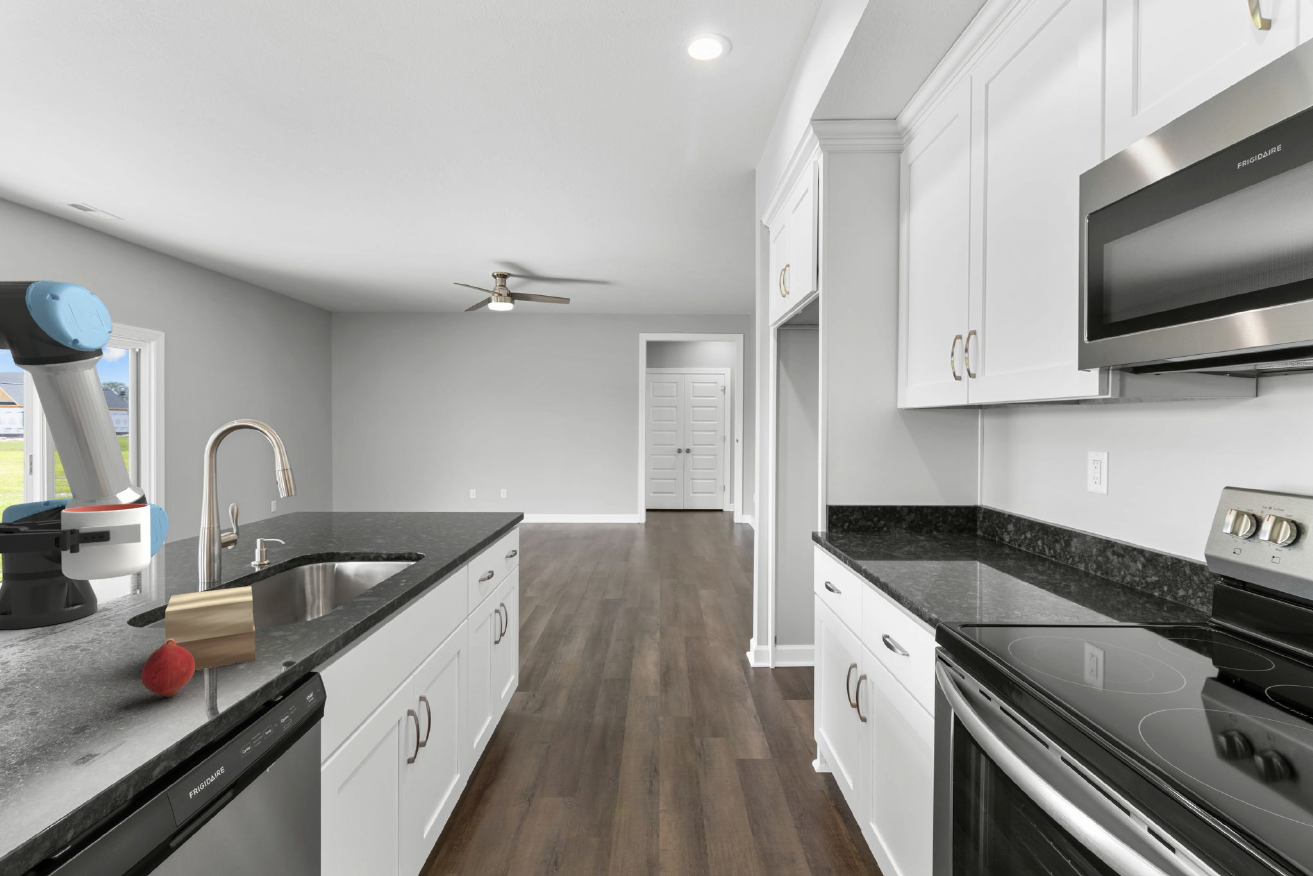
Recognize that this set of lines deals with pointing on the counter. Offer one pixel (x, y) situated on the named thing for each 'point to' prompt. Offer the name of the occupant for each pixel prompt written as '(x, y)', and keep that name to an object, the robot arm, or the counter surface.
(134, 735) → the counter surface
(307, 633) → the counter surface
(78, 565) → the cup
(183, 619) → the block top
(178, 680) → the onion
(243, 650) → the block bottom
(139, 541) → the robot arm
